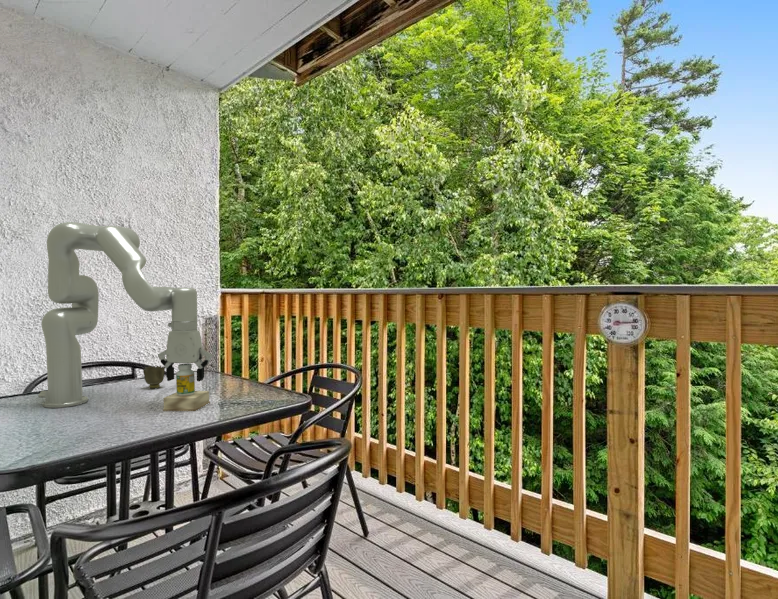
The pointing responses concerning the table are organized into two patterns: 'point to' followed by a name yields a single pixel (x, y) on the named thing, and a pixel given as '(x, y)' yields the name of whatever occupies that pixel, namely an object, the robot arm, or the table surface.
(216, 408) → the table surface
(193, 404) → the base block
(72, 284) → the robot arm
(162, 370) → the cup
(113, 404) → the table surface
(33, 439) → the table surface
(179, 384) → the supplement bottle
